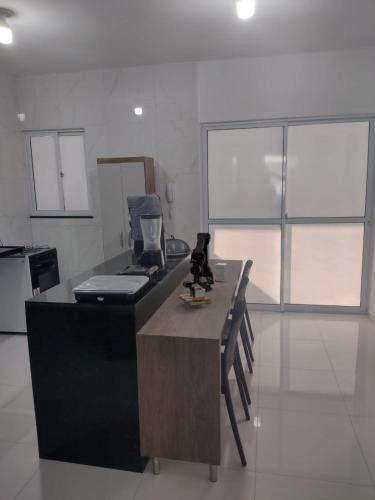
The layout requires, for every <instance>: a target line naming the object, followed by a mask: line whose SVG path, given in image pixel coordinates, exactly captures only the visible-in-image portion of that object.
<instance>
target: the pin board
mask: <svg viewBox="0 0 375 500" xmlns="http://www.w3.org/2000/svg"><path fill="white" fill-rule="evenodd" d="M179 298H180V299H182V300H183V301H185V302H186V303H187V304H189V305H190V306H198V305H199V306H200V305H205V304H210V303H211V304H212V303H213V300H211V299H210V298H208V297H206V296H205V299H201V300H195V299H194V298H192V293H191V291H190V290H189V293H184V294H179Z"/></svg>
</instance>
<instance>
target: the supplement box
mask: <svg viewBox="0 0 375 500" xmlns="http://www.w3.org/2000/svg"><path fill="white" fill-rule="evenodd" d="M214 270H215V271H214V273H215V275H214V276H215V277H214V279H215V282H223V283H225V282H227V281H229V264H228V263H227V262H224V263H223V262H218V263H216V264H215V265H214Z"/></svg>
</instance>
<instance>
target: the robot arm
mask: <svg viewBox="0 0 375 500" xmlns="http://www.w3.org/2000/svg"><path fill="white" fill-rule="evenodd" d="M211 236H212V235H211V234H210V233H209V232H198V233H196V240H197V241H196V245H195V248H193V249H192V252H191V253H190V262H189V263H190V264H192V266H191V267H190V268H189V271H190V274H191V275H192V276H193V279H192V281H190V280H185V281H183V282H182V287H183V288H185V289H189V292H190V291H191V293H192V295H193V297H195V293H194V289H195V288H196V287H195V286H196V285H198V286H199V287H202V288H204V289H205V293H206V292H207V290H212V289H213V287H211V286H213V285H215V280H214V274H213V271H212V268H211V267H210V264H209V262H210V261H209V244H210V242H211V239H212V237H211Z"/></svg>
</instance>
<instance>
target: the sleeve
mask: <svg viewBox="0 0 375 500" xmlns="http://www.w3.org/2000/svg"><path fill="white" fill-rule="evenodd" d="M194 293H195V297H193V295H192V298H194V299H195V300H201V299H205V297H206V292H205V289H204V288H202V287H200V286H199V287H198V286H197V287H195V289H194Z"/></svg>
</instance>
